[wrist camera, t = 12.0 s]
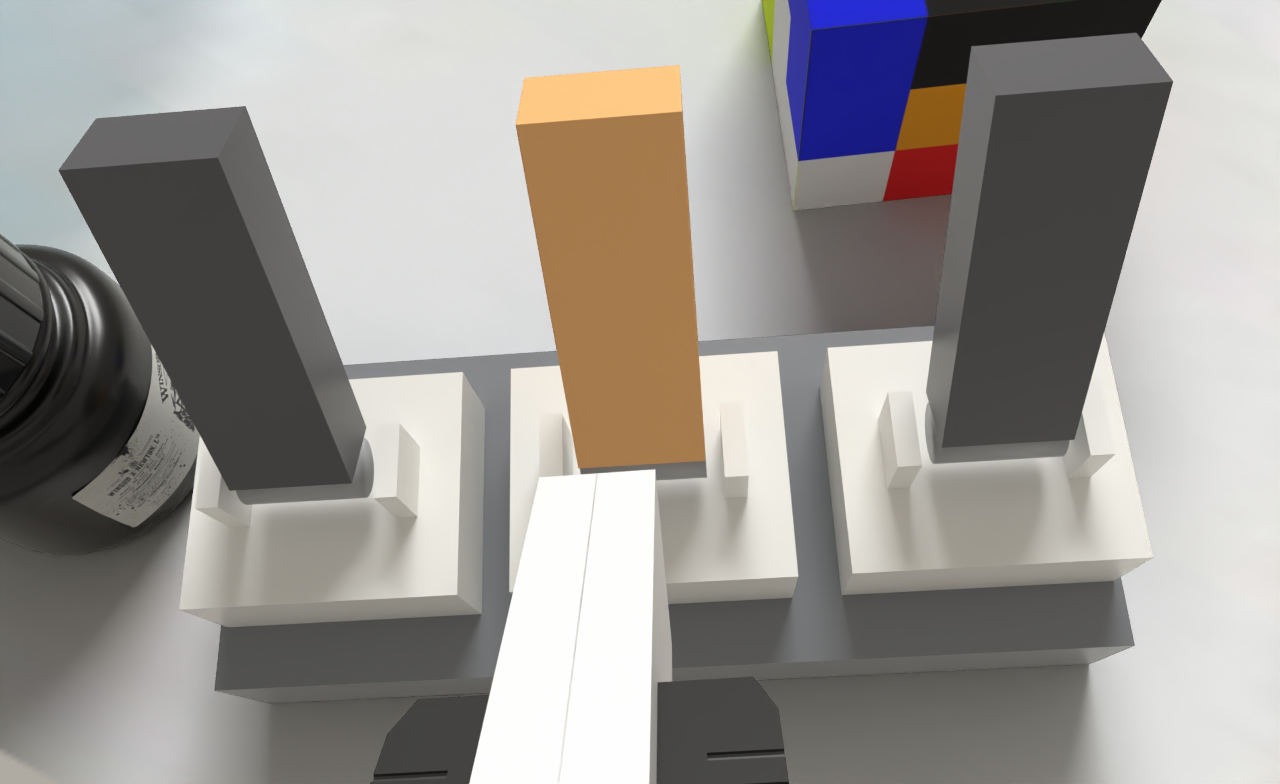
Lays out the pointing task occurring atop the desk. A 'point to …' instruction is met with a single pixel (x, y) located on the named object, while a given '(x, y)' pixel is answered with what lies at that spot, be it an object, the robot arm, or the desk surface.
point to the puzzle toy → (898, 84)
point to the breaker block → (732, 414)
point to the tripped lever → (618, 264)
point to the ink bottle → (82, 410)
